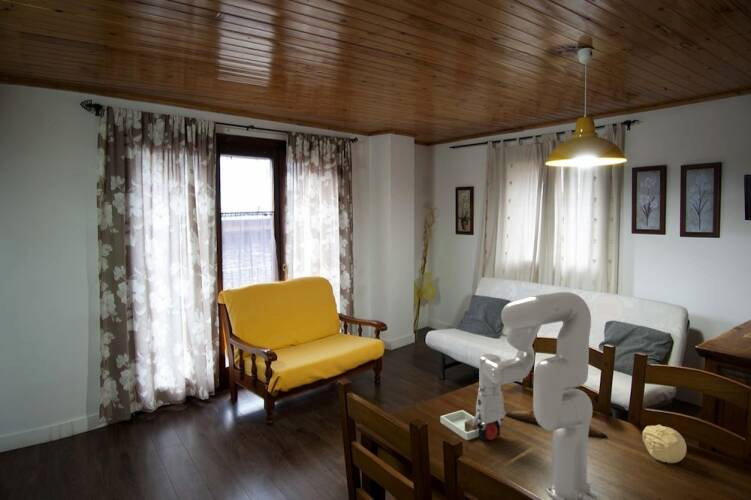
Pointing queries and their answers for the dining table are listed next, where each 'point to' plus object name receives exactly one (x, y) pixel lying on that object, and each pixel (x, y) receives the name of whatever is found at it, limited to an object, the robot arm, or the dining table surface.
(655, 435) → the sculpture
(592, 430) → the bread
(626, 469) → the dining table surface
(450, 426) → the tray
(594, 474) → the dining table surface
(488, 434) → the onion
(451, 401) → the dining table surface
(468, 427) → the walnut block
